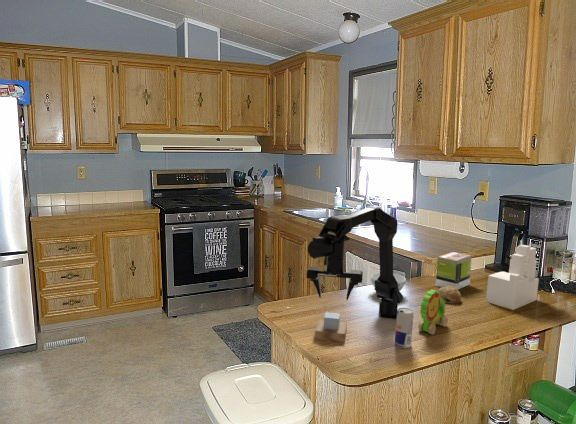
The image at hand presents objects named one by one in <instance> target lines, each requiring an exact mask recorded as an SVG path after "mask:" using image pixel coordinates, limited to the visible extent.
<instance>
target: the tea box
mask: <svg viewBox="0 0 576 424" xmlns="http://www.w3.org/2000/svg"><path fill="white" fill-rule="evenodd" d="M436 259H437V260H436V273H435V274H436V275H435V276H436V278H435V286H436V287H438V288H442V287H446V286H452V287H454V288H456V289H457V290H458V291H459V290H460V289H463V288H464V287H467V286H469V285H471V284H470V282H471V270H472V255H471V254H465V253H459V252H454V251H451V252H449V253H445V254H442V255H438V256H437V258H436Z"/></svg>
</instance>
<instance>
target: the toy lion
mask: <svg viewBox="0 0 576 424" xmlns="http://www.w3.org/2000/svg"><path fill="white" fill-rule="evenodd" d="M437 291H438V290H436V289H430V290H429V291H427V292H426V294H425V295H424V296H423V298H422V301H421V304H420V312H419V313H420V315H421V319H422V320H421V321H420V322H419V324H418V328H417V329H418V331H419V332H426V333H428V334H430V335H432V336H434V335H435V333H436V330H437V326H436V325H440V326H441V327H444V328H446V326H447V324H448V320H449V318H448V317H447V316H445V315H446V314H445V312H446V303H445V302H444V300H443V299H441V296H440V293H439V292H437Z"/></svg>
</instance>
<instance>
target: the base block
mask: <svg viewBox="0 0 576 424" xmlns="http://www.w3.org/2000/svg"><path fill="white" fill-rule="evenodd" d="M347 330H348V322H346V321H340V325H339V329H338V330H332V329H324V319H318V321H317V324H316V327H315V331H314V340H318V341H328V342H336V343H337V342H339V343H345V342H346V338H347V337H346V335H347Z"/></svg>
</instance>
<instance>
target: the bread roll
mask: <svg viewBox="0 0 576 424" xmlns="http://www.w3.org/2000/svg"><path fill="white" fill-rule="evenodd" d="M436 291H437V292H439V293H440V296H441V299H443V300H444V302H445V304H460V302H461V296H462V295H461V292H460V291H459V289H458V290H457V289H456V288H454V287H452V286H446V287H442V288H441V287H439V288H438V289H437V290H436Z"/></svg>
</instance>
